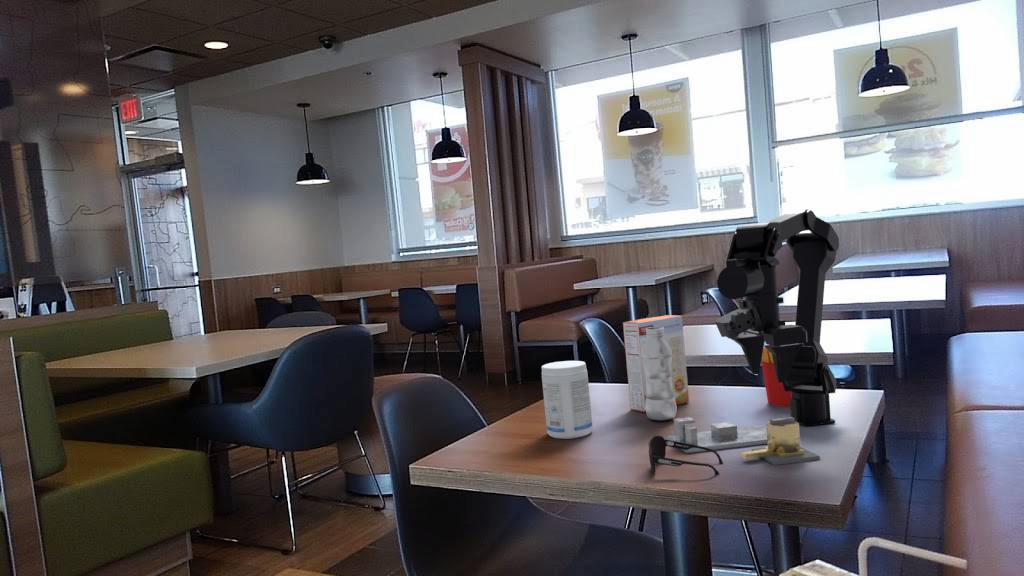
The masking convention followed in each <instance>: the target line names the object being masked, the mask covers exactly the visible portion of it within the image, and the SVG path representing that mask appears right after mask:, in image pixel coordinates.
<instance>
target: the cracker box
mask: <svg viewBox="0 0 1024 576" xmlns="http://www.w3.org/2000/svg"><path fill="white" fill-rule="evenodd" d="M622 327H623V338H624V349H625V350H624V351H625V361H626V372H627V380H628V381H627V382H628V383H627V384H628V393H629V394H628V395H629V404H630V405H629V407H630V410H631V411H637V412H642V413H646V410H645V402H646V377H645V371H644V366H643V362H642V357H641V350H642V348H643V346H644V344H645V343H646V341H647V337H646V328H651V327H663V328H664V335H665V336H663V339H664V340H665V341H666V342H667V344H668V345H669V346H670V348H671V351H672V362H671V382H672V388H673V394H674V398H675V401H676V406H677V405H678V406H679V405H682V404H686V403H689V402H690V398H689V385H688V384H689V383H688V373H687V372H688V371H687V361H686V352H685V351H686V349H685V337H684V336H685V335H684V326H683V316H682V315H675V314H674V315H671V314H665V315H661V316H653V317H652V316H651V317H646V318H640V319H639V318H638V319H633V320H629V321H624V322H622Z"/></svg>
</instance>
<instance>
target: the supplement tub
mask: <svg viewBox="0 0 1024 576" xmlns="http://www.w3.org/2000/svg"><path fill="white" fill-rule="evenodd" d="M541 382H542V383H541V384H542V393H543V403H544V414H545V424H546V431H547V432H546V433H547V434H548V435H549V437H551V438H554V439H560V440H561V439H564V440H568V439H569V440H570V439H577V438H581V437H585V436H588V435H590V434H591V433H592V431H593V415H592V407H591V395H590V387H589V386H590V383H589V377H588V370H587V364H586V362H585V361H582V360H564V361H563V360H562V361H554V362H549V363H545V364H543V365H541Z"/></svg>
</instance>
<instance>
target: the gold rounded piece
mask: <svg viewBox="0 0 1024 576" xmlns="http://www.w3.org/2000/svg"><path fill="white" fill-rule="evenodd" d="M765 426H766V427H765V428H767V441H768V444H767V446H765V447H764V448H765V449H762V450H755V451H752V450H749V451H741V458H743V459H745V460H749V459H750V460H751V459H757V458H761V457H765V456H772V455H775V456H777V457H779V458H781V457H788V456H795V455H802V454H804V450H802V449H801V448H800V447H801V435H800V424H799V423H798V422H796V421H795V418H793V417H791V416H787V417H781V418H774V419H773V418H772V419H769V421H767V422H766V425H765Z"/></svg>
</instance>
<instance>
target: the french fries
mask: <svg viewBox="0 0 1024 576" xmlns="http://www.w3.org/2000/svg"><path fill="white" fill-rule="evenodd" d="M761 367H762V374H763V379H764V386H765V391H766V398H767V404H768V403H769V405H770V404H771V406H776V405H778V407H785V406H786V407H787V408H790V399H792V392H791V391H785V390H784V386H783V382H782V383H779V382H778V381H777V377H776V372H775V367H774V362H773V356H772V353H771V352H770V351H768V350H767V349H766V348H765V347H764V348H763V353H762V360H761Z"/></svg>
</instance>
